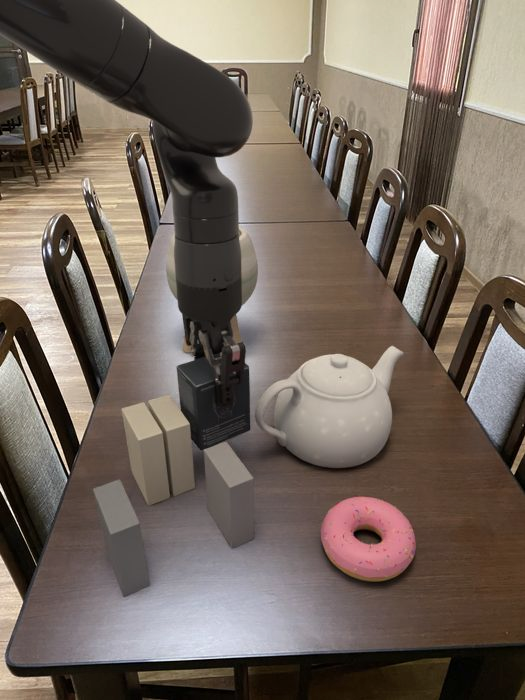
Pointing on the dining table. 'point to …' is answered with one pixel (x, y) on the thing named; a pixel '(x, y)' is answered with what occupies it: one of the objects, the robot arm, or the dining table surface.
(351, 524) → the doughnut
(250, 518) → the grey books
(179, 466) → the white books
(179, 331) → the dining table surface
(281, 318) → the dining table surface
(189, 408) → the box
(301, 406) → the teapot
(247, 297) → the planter
